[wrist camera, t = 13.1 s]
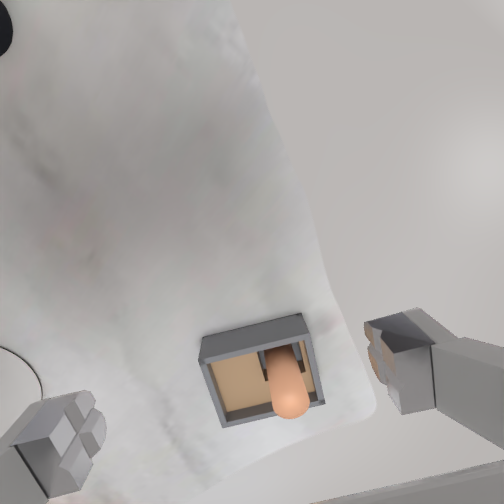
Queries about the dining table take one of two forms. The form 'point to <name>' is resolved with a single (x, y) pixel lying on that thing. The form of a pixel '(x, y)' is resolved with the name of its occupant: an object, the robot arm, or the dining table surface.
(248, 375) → the bore box
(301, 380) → the peg
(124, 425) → the dining table surface
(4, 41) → the black bottle
